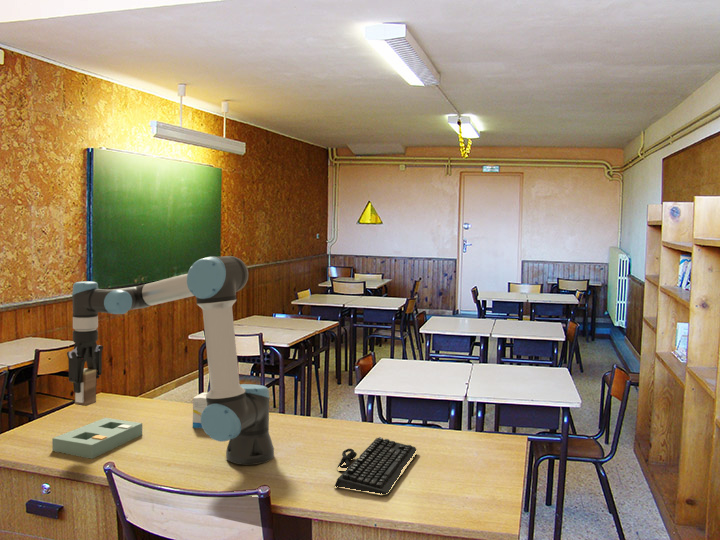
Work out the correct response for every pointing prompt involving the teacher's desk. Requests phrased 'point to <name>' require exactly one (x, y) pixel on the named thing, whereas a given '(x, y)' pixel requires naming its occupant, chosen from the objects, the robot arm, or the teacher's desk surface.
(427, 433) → the teacher's desk surface
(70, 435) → the socket board
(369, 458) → the keyboard
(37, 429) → the teacher's desk surface
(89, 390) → the plug
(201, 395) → the ink box
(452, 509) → the teacher's desk surface
